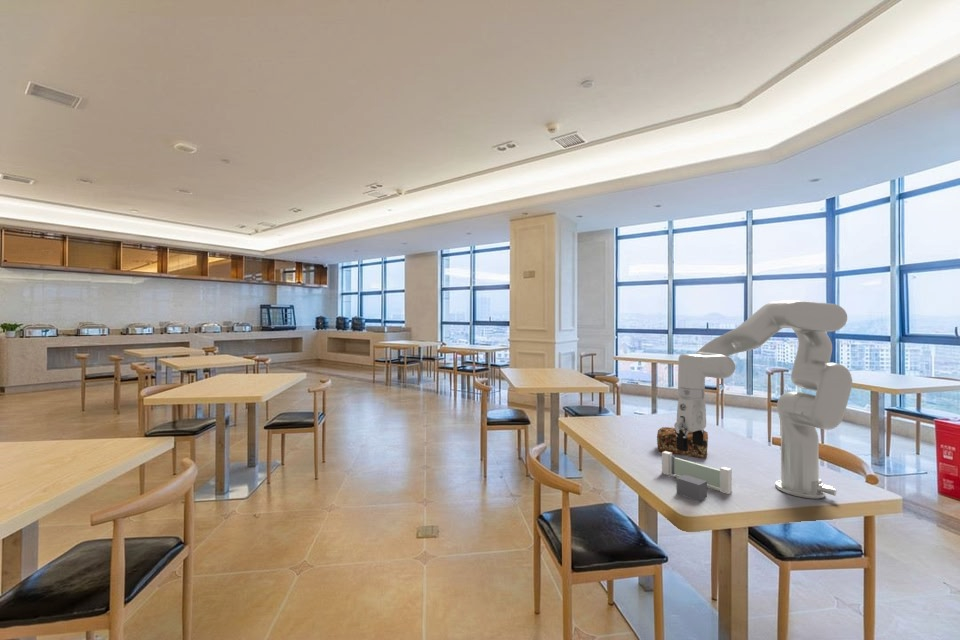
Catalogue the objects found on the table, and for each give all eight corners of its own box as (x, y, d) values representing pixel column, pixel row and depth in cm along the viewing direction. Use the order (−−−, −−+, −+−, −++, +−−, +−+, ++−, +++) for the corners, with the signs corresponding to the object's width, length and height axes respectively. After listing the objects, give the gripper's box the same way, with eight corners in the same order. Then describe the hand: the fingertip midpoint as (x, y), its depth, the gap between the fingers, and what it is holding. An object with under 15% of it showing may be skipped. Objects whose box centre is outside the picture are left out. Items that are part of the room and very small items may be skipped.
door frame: (731, 492, 130) (731, 468, 130) (728, 494, 128) (728, 470, 128) (665, 471, 147) (665, 451, 147) (662, 473, 146) (662, 452, 146)
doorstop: (707, 497, 127) (707, 481, 127) (699, 501, 124) (699, 485, 124) (684, 489, 132) (684, 474, 132) (676, 493, 129) (676, 477, 129)
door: (721, 488, 132) (721, 468, 132) (719, 489, 131) (719, 469, 131) (672, 473, 145) (672, 455, 145) (670, 474, 144) (670, 456, 144)
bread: (708, 452, 169) (708, 428, 169) (707, 460, 160) (707, 434, 160) (659, 445, 179) (659, 422, 179) (656, 452, 170) (656, 428, 170)
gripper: (689, 397, 120) (688, 455, 120) (716, 392, 130) (715, 446, 130) (664, 393, 126) (663, 449, 126) (692, 389, 136) (691, 440, 136)
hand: (690, 447), depth 128 cm, fingers open, 9 cm apart
